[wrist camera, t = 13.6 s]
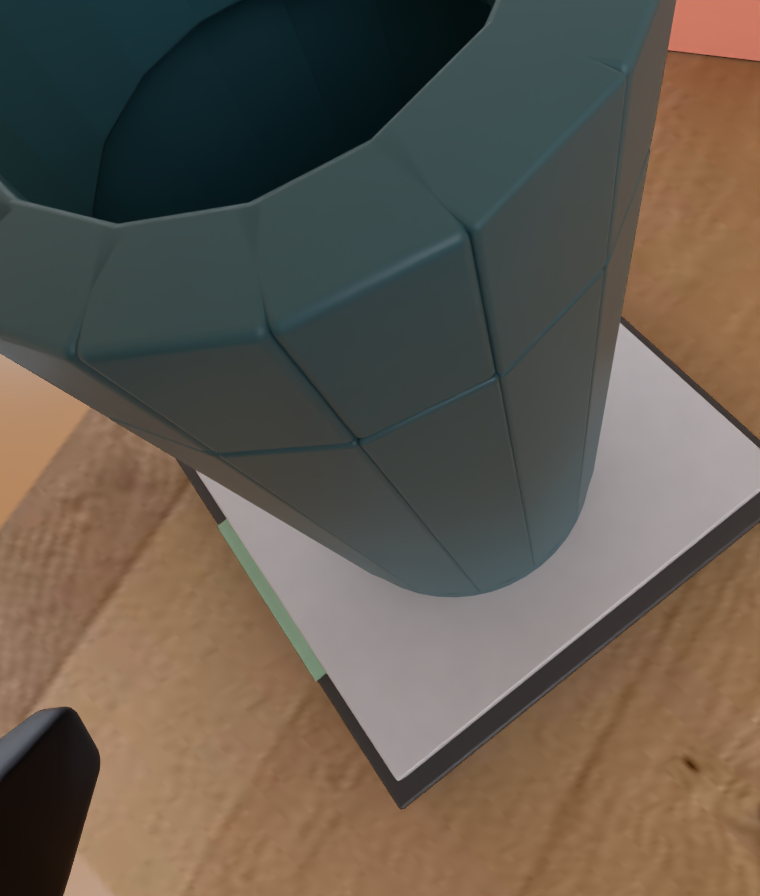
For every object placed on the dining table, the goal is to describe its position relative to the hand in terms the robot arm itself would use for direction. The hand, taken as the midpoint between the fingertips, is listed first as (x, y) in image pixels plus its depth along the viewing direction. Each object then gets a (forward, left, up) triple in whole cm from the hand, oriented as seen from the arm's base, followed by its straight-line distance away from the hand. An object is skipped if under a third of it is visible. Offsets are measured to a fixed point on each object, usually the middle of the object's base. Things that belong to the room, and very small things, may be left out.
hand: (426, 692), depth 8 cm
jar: (+3, +5, -8) cm, 10 cm away
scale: (+3, +5, -10) cm, 12 cm away
